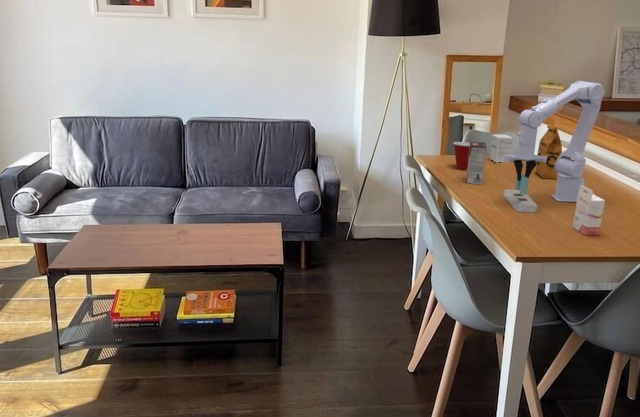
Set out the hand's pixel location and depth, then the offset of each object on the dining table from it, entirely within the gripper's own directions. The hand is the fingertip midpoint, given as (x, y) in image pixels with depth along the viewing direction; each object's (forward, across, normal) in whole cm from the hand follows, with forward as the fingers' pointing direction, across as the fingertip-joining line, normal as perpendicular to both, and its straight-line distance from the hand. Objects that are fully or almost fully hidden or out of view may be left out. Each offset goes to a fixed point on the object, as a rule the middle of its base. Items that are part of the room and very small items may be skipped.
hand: (522, 180), depth 215 cm
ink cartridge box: (+9, +14, -28) cm, 33 cm away
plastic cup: (+9, -12, +52) cm, 54 cm away
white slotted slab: (+9, 0, 0) cm, 9 cm away
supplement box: (+9, +8, +68) cm, 69 cm away
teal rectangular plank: (+4, 0, 0) cm, 4 cm away
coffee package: (+9, +23, +43) cm, 50 cm away
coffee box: (+9, -11, +30) cm, 33 cm away
